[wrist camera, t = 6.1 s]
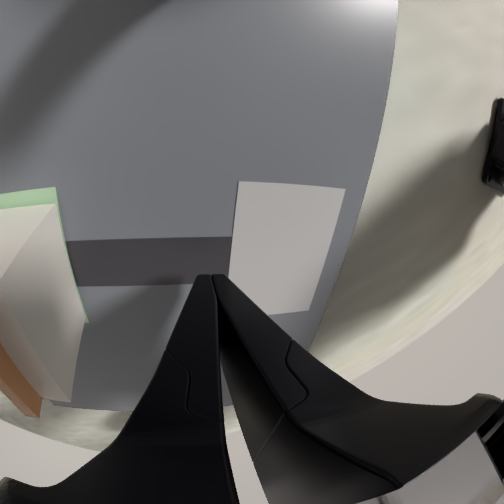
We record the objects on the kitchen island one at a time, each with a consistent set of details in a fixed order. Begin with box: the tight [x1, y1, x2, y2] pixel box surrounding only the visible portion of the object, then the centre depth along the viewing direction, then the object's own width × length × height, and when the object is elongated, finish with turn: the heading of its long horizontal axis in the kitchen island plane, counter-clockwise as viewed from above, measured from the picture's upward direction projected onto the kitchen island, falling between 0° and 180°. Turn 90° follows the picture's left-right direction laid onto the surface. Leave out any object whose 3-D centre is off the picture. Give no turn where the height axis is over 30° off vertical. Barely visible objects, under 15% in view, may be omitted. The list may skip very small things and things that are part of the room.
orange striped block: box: [0, 204, 86, 418], centre depth 6 cm, size 3×5×5 cm, turn 173°
